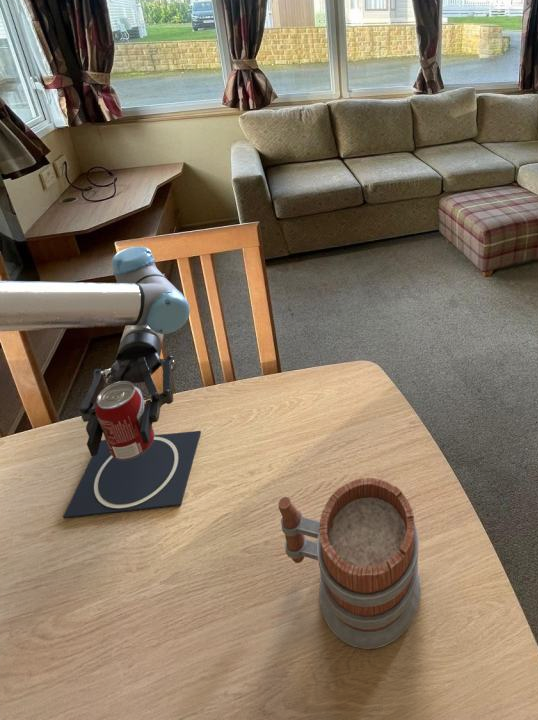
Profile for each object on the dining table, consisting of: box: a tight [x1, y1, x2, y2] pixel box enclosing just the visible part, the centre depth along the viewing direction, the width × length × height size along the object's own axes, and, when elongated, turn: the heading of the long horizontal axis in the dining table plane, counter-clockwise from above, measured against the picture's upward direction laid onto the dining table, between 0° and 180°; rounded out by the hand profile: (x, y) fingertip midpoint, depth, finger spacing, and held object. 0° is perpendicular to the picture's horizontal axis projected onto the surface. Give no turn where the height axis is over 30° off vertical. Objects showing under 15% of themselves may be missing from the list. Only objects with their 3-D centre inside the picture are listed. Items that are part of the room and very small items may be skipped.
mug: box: [277, 477, 422, 650], centre depth 65 cm, size 14×19×15 cm
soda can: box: [95, 381, 155, 460], centre depth 80 cm, size 7×7×12 cm
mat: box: [62, 430, 202, 520], centre depth 83 cm, size 18×14×1 cm
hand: (118, 443), depth 75 cm, fingers closed on soda can, 7 cm apart
